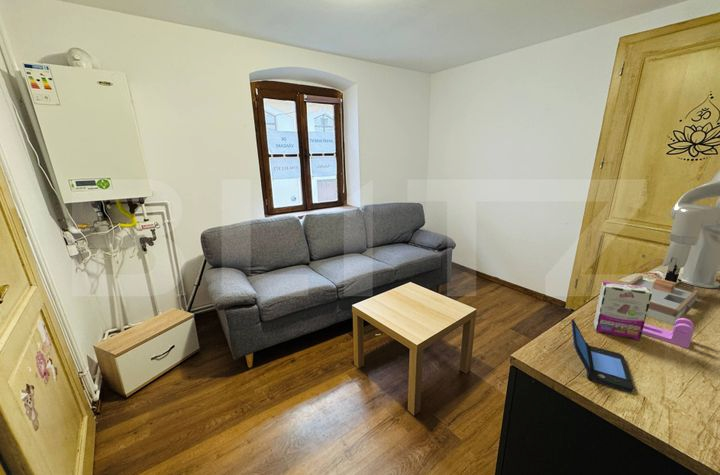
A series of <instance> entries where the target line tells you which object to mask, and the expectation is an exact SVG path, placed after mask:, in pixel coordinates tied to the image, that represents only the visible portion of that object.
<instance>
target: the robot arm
mask: <svg viewBox="0 0 720 475" xmlns="http://www.w3.org/2000/svg"><path fill="white" fill-rule="evenodd" d="M717 197H718V198H717ZM710 198H717V200H716V202H715V206H710V205H703V204H697V202H699V201H701V200H706V199H710ZM695 203H696V204H695ZM670 210H671V211H670V215H669V216H670V217H671V219H672V220H673V224H672V227H671V229H670V230H671V231H670V234H669V236H668V237H669V238H668V242H669V243H670V244H669V245H668V248H667V251H666V253H665V254H666V255H665V257H664V259H663V262H662V266H663V267H666V266H668V268H667V271H666V274H665V277H664V280H667V281H671V282H675V283H676V284H677V282H678V276H679V274H680V271H681V268H683V267H684V268H683V269H682V273H681V274H682V277H683V279H681V281H680V282H681V283H685V284H687V285H690V286H693V287H694V286H695V287H699V288H707V289H717V288H719V287H720V282H719V281H718V280H716V279H717V277H718V274H719V271H720V169H719V170H718V171H717V172H716V174H715V175H714V176H713V178H712V179H711V180H710V181H708V182H706V183H703V184H701V185H698V186H697V187H694V188H691V189H690V190H688V191H686V192H685V193H684V194H682V195H681V196H680V197H679V199H678V200H677V201H676V202H675V204H674V205H673V207H672V208H671V209H670Z"/></svg>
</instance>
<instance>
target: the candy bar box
mask: <svg viewBox="0 0 720 475" xmlns="http://www.w3.org/2000/svg"><path fill="white" fill-rule="evenodd" d="M599 292H600V293H599V296H598V301H597V304H596V305H597V306H596V310H595V315H594V319H593V327H594V330H595V332H596V333H600V334H604V335H605V334H606V335H612V336H615V337H622V338H626V339H632V340H635V341H636V340H637V341H641V338H642V335H643V334H642V331H643V327H644V323H645V324H646V318H647V316H646V315H647V312H648V308H649V304H650V300H651V296H652V292H651V291H650V290H649V289H648V288H647V287H643V286H636V285H628V283H620V282H619V283H618V282H613V281H601V286H600V290H599Z"/></svg>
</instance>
